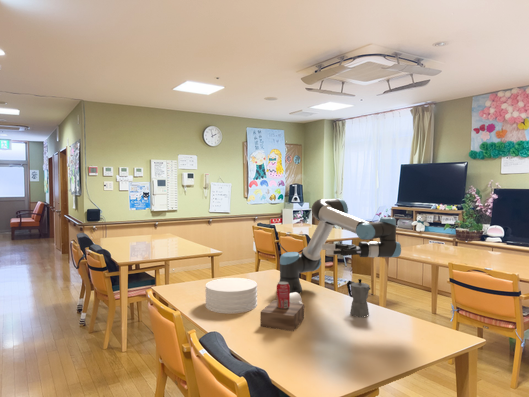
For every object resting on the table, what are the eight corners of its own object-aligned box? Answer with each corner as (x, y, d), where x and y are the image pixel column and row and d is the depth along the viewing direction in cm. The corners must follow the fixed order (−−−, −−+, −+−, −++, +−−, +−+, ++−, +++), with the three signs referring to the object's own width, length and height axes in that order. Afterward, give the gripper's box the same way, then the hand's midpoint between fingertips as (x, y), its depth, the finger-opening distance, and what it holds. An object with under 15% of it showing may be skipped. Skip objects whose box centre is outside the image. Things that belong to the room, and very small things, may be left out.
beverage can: (281, 304, 187) (281, 280, 187) (292, 307, 183) (292, 282, 183) (273, 307, 183) (273, 282, 182) (284, 310, 179) (284, 285, 178)
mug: (277, 308, 203) (277, 293, 203) (292, 304, 209) (292, 290, 209) (292, 314, 193) (292, 299, 193) (306, 310, 199) (307, 295, 199)
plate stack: (233, 317, 190) (233, 294, 189) (194, 306, 206) (194, 285, 206) (267, 303, 212) (267, 282, 211) (229, 294, 229) (229, 275, 228)
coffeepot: (376, 316, 191) (376, 280, 190) (363, 320, 186) (363, 283, 185) (353, 307, 204) (353, 274, 203) (340, 311, 199) (340, 276, 198)
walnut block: (273, 314, 194) (273, 300, 194) (304, 318, 189) (304, 304, 188) (260, 326, 177) (260, 311, 177) (293, 331, 172) (293, 316, 172)
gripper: (374, 262, 175) (328, 262, 175) (361, 252, 200) (320, 252, 200) (374, 246, 175) (328, 246, 175) (361, 238, 200) (320, 237, 200)
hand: (324, 249), depth 188 cm, fingers open, 13 cm apart
